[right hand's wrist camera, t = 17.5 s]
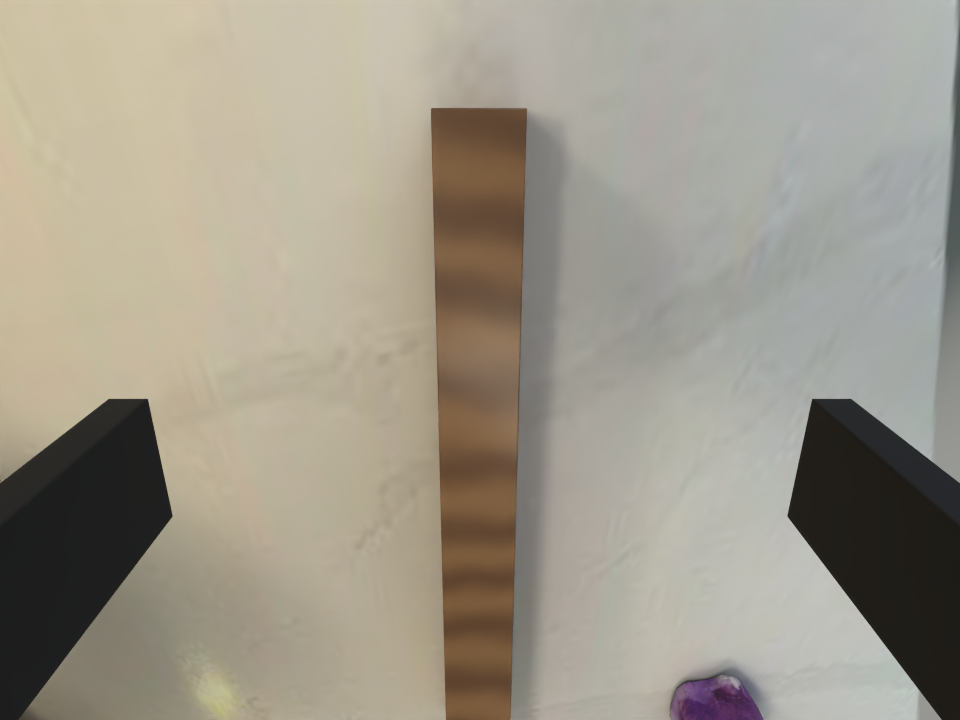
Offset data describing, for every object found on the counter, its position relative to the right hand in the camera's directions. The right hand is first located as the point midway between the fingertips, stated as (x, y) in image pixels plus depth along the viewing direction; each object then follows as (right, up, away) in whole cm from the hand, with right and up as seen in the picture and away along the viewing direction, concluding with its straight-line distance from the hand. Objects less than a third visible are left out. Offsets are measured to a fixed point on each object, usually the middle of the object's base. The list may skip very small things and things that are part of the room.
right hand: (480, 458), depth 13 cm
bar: (0, -7, +41) cm, 41 cm away
